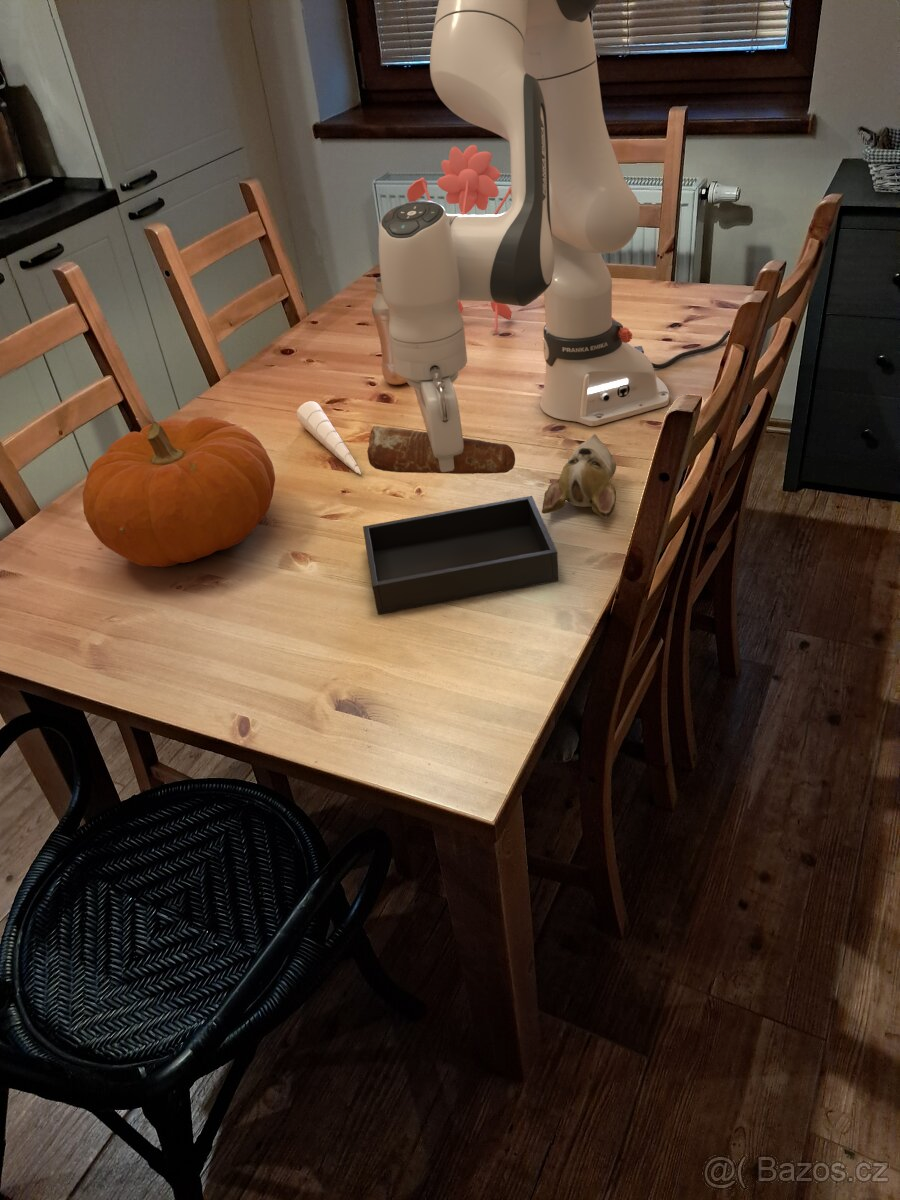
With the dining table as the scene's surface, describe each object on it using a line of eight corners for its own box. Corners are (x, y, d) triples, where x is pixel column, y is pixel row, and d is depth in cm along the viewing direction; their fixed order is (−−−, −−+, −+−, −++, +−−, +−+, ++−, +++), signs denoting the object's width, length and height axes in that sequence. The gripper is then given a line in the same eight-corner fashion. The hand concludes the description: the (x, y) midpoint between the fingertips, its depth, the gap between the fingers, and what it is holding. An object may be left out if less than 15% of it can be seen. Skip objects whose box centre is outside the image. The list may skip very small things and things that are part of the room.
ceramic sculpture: (630, 426, 134) (609, 484, 124) (630, 475, 140) (611, 534, 130) (560, 422, 138) (534, 478, 128) (563, 470, 144) (539, 527, 134)
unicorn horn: (339, 483, 148) (334, 458, 146) (298, 428, 166) (292, 403, 163) (366, 475, 150) (361, 449, 147) (323, 420, 167) (317, 396, 165)
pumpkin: (203, 613, 125) (158, 488, 113) (66, 570, 137) (12, 454, 125) (322, 506, 144) (295, 389, 131) (192, 477, 156) (156, 368, 143)
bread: (382, 455, 123) (375, 418, 119) (520, 462, 117) (517, 423, 114) (366, 479, 118) (359, 441, 114) (509, 488, 113) (506, 448, 109)
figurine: (535, 333, 188) (525, 150, 166) (416, 334, 195) (392, 158, 173) (547, 305, 199) (540, 130, 178) (435, 307, 206) (414, 138, 185)
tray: (533, 523, 133) (531, 495, 130) (558, 581, 122) (557, 552, 119) (368, 553, 132) (362, 526, 129) (377, 614, 120) (372, 586, 117)
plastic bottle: (421, 374, 178) (407, 272, 166) (409, 389, 174) (394, 286, 161) (391, 373, 181) (375, 272, 168) (378, 388, 176) (361, 285, 163)
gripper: (470, 383, 100) (480, 490, 108) (442, 317, 116) (454, 415, 125) (413, 392, 100) (428, 499, 108) (394, 325, 116) (408, 423, 124)
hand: (442, 454), depth 116 cm, fingers closed on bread, 6 cm apart
